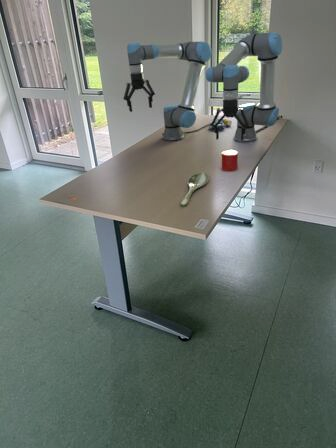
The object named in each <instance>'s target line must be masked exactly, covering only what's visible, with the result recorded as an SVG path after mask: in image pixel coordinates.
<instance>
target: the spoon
mask: <svg viewBox="0 0 336 448" xmlns="http://www.w3.org/2000/svg"><path fill="white" fill-rule="evenodd" d="M209 180H210V176H209V174H208V173H206V172H203V171H200V172H199V171H198V172H195V173H194V174H192V175H191V176H189V178H188V180H187V185H188V187H189V188H188V189H189V190H188V192H187V193H186V195H185V196H184V197H183V198H182V200H181V202H180V206H183V207H185V206H187V205H188V203H189V201H190V199H191V197H192V195H193V193H194V191H196V190H197V189H199V188H201V187H203V186H205V185H206V184H207V183H208V182H209Z"/></svg>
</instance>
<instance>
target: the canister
mask: <svg viewBox="0 0 336 448" xmlns="http://www.w3.org/2000/svg"><path fill="white" fill-rule="evenodd" d="M238 155H239V152H238V151H237V150H234V149H225V150H223V151H222V152H221V170H222V171H224V172H227V173H229V172H231V173H232V172H235V171H237V170H238V162H239V161H238V158H239V157H238Z"/></svg>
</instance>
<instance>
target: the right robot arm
mask: <svg viewBox="0 0 336 448" xmlns="http://www.w3.org/2000/svg"><path fill="white" fill-rule="evenodd" d="M282 49H283V40H282V36H281V34H279V32H272V31H271V32H262V33H259V32H258V33H251V34H248V35H246V36H245V37H243V38H241V39H239V41H238V42H236V43H235V45H234V46H233V49H232V50H230V51H229V53H228V54H227V55H225V56H224V58H223V59H221V61H220V62H218V64H216V66H209V67H208V68H207V69H206V71H205V79H206V81H207V82H208V83H222V108H221V107H217V109H216V112H215V115H214V117H213V119H212V122H211V123H212V124H211V126H213V127H214V128H213V129H214V131H213V132H214V134H215V140H219V139H220V137H219V136H220V135H219V133H220V129H219V126H217V125H218V124H219V123H220V122H221V121H222V120H224V119H225V118H234V119H236V130H235V133H234V135H233V140H234V141H236V142H240V143H249V142H254V141H256V140H257V132H259V131H261V130H263V129H265V128H267V127H273V126H275V124H276V122H277V120H278V119H279V118H280V117H281V118H283V116H282V115H281V116H280V115H279V114H280V108H279V107H277V104H276V102H275V101H274V96H275V74H276V73H275V72H276V69H275V68H276V61H278V59H279V56H280V55H281V54H282ZM247 57H256V58H257V62H258V63H259V97H258V98H259V99H258V100H259V101H258V103H257V104H256V103H253V102H251V103H244V104H241V105H239V99H238V98H239V84H241V83H244V82H245V81H247V80H248V78H249V76H250V70H249V68H248V67H247V66H245V65H238V64H239V63H241V61H242V60H244V59H246V58H247ZM221 113H223V115H221V117H220V118H219V119H220V120H219V121H218V122H217V123H216V124H214V123H215V121H216V119H218V117H219V115H220V114H221ZM255 126H263V127H261V128H259V129H257V130H256V129H255Z"/></svg>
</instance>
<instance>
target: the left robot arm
mask: <svg viewBox="0 0 336 448" xmlns="http://www.w3.org/2000/svg"><path fill="white" fill-rule="evenodd" d="M126 52H127V59H128V66H129V73H130V81H131V82H126V87H125V91H124V94H123V100H124V101H126V105H127V107H128V110H129V112H130V113H132V112H133V106H132V101H131V99H132V97H133V94H134V93H135V91H138V90H143V91H144V92H145V93H146V94H147V95H148V96H147V99H148V107H149V108H150V109H152V108H153V101H154V100H153V97H154V96H155V95H156V93H155V91H154V89H153V88H152V86H151V84H150V81H149V79H145V80H144V73H143V61H147V60H155V59H175V60H177V61H178V60H181V61H186V62H187V64H188V71H187V75H186V78H185V79H186V80H185V83H184V89H183V93H182V97H181V100H180V103H179V104H172V105H166V106H165V107H163V113H162V114H163V121H164V130H163V133H162V134H161V135H162V139H163V140H164V141H167V142H176V141H180V140H182V139H184V137H185V136H184V134H188V133H189V134H190V133H194V132H197V131H200V130H201V129H204V128H205V127H206V128H207V127H208V126H210V124H211V123H212V122H211V123H208V124H205V125H204V126H201V127H200V128H198V129H195V130H191V131H183V129H182V128H184V129H189V128H191V127H192V126H193V125H194V124H195V123H196V120H197V116H196V113H195V109H196V108H195V107H194V105H195V101H196V97H197V96H196V95H197V92H198V87H199V83H200V79H201V75H202V71H203V69H204V68H205V67H206V64H207V63H208V62H209V61H210V60H211V58H212V55H213V54H212V47H211V45H210V44H209V43H208V42H206V41H203V40H201V41H187V42H181V43H180V42H179V43H176V44H140V42H132V43H128V44H127V45H126ZM145 85H146V86H145ZM146 87H147V88H146Z"/></svg>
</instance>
